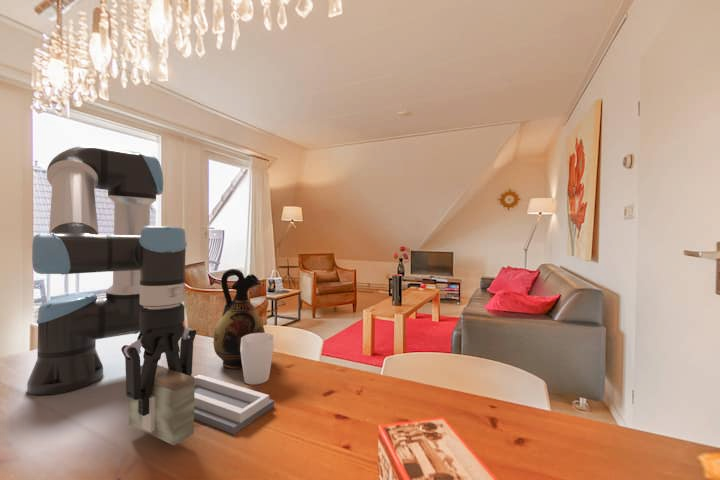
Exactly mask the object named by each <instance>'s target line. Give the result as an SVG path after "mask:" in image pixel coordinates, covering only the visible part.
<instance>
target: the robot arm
mask: <svg viewBox="0 0 720 480" xmlns="http://www.w3.org/2000/svg"><path fill="white" fill-rule="evenodd" d="M163 175H164V174H163V170H162V165H161V163H160V161H159V159H158V158H157V157H156V156H154V155H152V154H146V153H141V152H135V151H129V150H123V149H117V148H112V147H111V148H110V147H103V146H99V145H79V146H75V147H71V148H69V149H66V150H63V151H62V152H60V153H59V154H57V155H56V156H54V158H52V160H51V161H50V162H49V164H48V166H47V169H46V180H47V181H48V183H49V184H50V186H51V197H50V198H51V199H50V200H51V201H50V211H49V212H50V213H49V214H50V215H49V228H48V229H49V230H48V233H38V234H35V236H34V237H33V238H32V246H31V248H32V249H31V250H32V252H31V253H32V254H31V259H32V260H31V265H32V270H33V271H34V272H35V273H37V274H40V275H70V274H71V275H73V274H86V273H87V274H90V273H103V272H104V273H105V272H112V285H111V286H110V287H108V289H106V290H105V291H106V292H105V293H106V294H105V296H104V297H98V296H97V294H96V293H94V292H87V293H85V292H84V293H76V294H71V295H65V296H60V297H56V298H53V299H50V300H47V301H45V302H43V303H42V304H41V305H40V306H39V308H38V313H37V314H38V315H37V320H36V323H37V355H36V356H37V359H36V361H35V363H34V366H33V369H32V371H31V374H30V375H29V378H28V380H27V384H26V385H27V386H26V387H27V388H26V389H27V390H26V391H28V392H27V393H28V394H30V395H35V396H51V395H56V394H62V393H63V394H64V393H67V392H71V391H75V390H78V389H82V388H84V387H87V386H89V385H91V384H93V383H96V382H98V381H100V379H101V378H103V375H104V366H103V363H102V361H101V358H100V356H99V354H98V351H97V349H96V341H97V340H101V339H108V338H113V337H114V338H115V337H121V336H127V335H137V334H138V336H137V339H136V340H135V341H134V342H132V343H131V344H129V345H127V344H125V345H122V347H121V348H120V350H121V353H122V354H123V357H124V358H125V394H126V397H127V398H132V399H134V400H138V413H139V414H140V415H142V428H143V429H145V430H147V431H149V432H152V431H154V430H155V396H153V395H151V393H152V388H153V383H154V379H155V374H156V369H157V365H159V361H160V360H161V358H162V354H163V353H164V354H165V358H166V363H167V368H168V369H171V370H174V371H177V372H180V373H183V374H186V375H189V376H193V375H192V374H193V358H194V356H193V355H194V342H195V339H196V335H197V330H196V329H194V328H188V327H186V328H185V326H184V324H183V323H184V321H185V307H186V306H185V305H184V304H183V303H184V301H185V298H186V297H185V296H186V294H185V291H186V285H185V283H186V280H185V279H186V251H187V250H186V249H187V245H188V243H187V240H186V230H185V229H184V228H182V227H181V226H164V225H163V226H160V225H151V224H150V223H151V222H150V219H151V217H150V216H151V205H152V204H153V203H155V202H156V201H157V196H159V195H162V194H163V192H164V176H163ZM95 189H97V190H105V191H107V197H108V198H109V199H110V200H111V201H112V202H113V203H114V207H113V208H114V216H113V217H114V218H113V219H114V220H113V222H114V223H113V234H103V233H101V234H100V233H99V226H98V215H97V203H96V194H95V193H96V192H95ZM179 342H180V344H179ZM141 347H142V349H144V350H143V354H142V355H143V357H142V358H143V363H142V365H143V367H142V372H141V368H140V366H141V356H140V354H141V353H142V351H141Z"/></svg>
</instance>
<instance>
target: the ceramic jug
mask: <svg viewBox="0 0 720 480" xmlns="http://www.w3.org/2000/svg"><path fill="white" fill-rule="evenodd" d="M233 276H236V277H238V279H237V280H236V281H234V283H233V284H232V286H231V289H232V291H233V290H234V291H236V292H235V293H236V294H235V296H234V298H232V296H231V294H230V293H231V292H230V289H229V286H228V279H229V278H231V277H233ZM220 282H221V283H220V284H221V289H222V293H223V295H224V299H225V306H224V308H223V312H222V316H221V317H220V319H219V322H218V323H217V325H216V328H215V331H214V333H213V334H214V335H213V340H212V341H213V342H212V343H213V348H214V353H215V354H216V356H217V357H218V358H220V360H222V366H223V367H226V368H227V369H235V370H243V367H242V360H241V352H240V347H241V338H242V337H243V336H245V335H248V334H253V333H266V331H265V327H264V323H263V321H262V318H261V316H260V314H259V313H258V311H257V310H256V308H255V306H254V305H253V303H252V302H251V301H250V298H249V296H248V291H249V290H250V289H252V288H254V287H257V286H261V285H262V282H261V281H260V280H259V278H258V277H257V276H256V275H255V274H254V273H253V274H248V275H246V276H245V275H244V272H242V271H241V270H239V269H236V268H229V269H227V270H226V271H224V272H223V274H222V276H221V281H220ZM232 299H233V300H232Z"/></svg>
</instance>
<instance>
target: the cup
mask: <svg viewBox="0 0 720 480" xmlns="http://www.w3.org/2000/svg"><path fill="white" fill-rule="evenodd" d="M274 346H275V344H274V335H273V334H271V333H268V332H265V333H253V334H248V335H245V336H243V337H242V338H241V347H240V352H241V360H242V367H243V369H242V372H243V373H242V374H243V380H244V383H246V384H248V385H251V386H255V385H262V384H264V383H266V382H267V381H268V380H269V379H270V373H271V367H272V362H273V361H272V360H273V353H274Z"/></svg>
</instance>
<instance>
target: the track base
mask: <svg viewBox="0 0 720 480" xmlns="http://www.w3.org/2000/svg"><path fill="white" fill-rule="evenodd" d="M194 377H195V392H194V421H199V422H200V423H203V424H206V425H208V426H211V427H214V428H216V429H219V430H221V431H224V432H226V433H228V434H232V435H235V434H237V433H238V432H240V431H241V430H242V429H243V430H244V428H245V427H247V426H248V425H250V424H251V423H253V422H255V421H256V420H257V419H258V418H260V417H262V416H263V415H264V414H266V413H267V412H269V411H270V410H271V409H273V408H274V407H275V400H273V399H271V398H270V394H268V393H267V394H266V393H263V392H260V391H256V390H253V389H249V388H247V387H243V386H239V385H237V384H233V383H230V382H226V381H223V380H219V379H217V378H216V379H215V378H212V377H209V376H207V375H202V374H198V375H195V376H194Z"/></svg>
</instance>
